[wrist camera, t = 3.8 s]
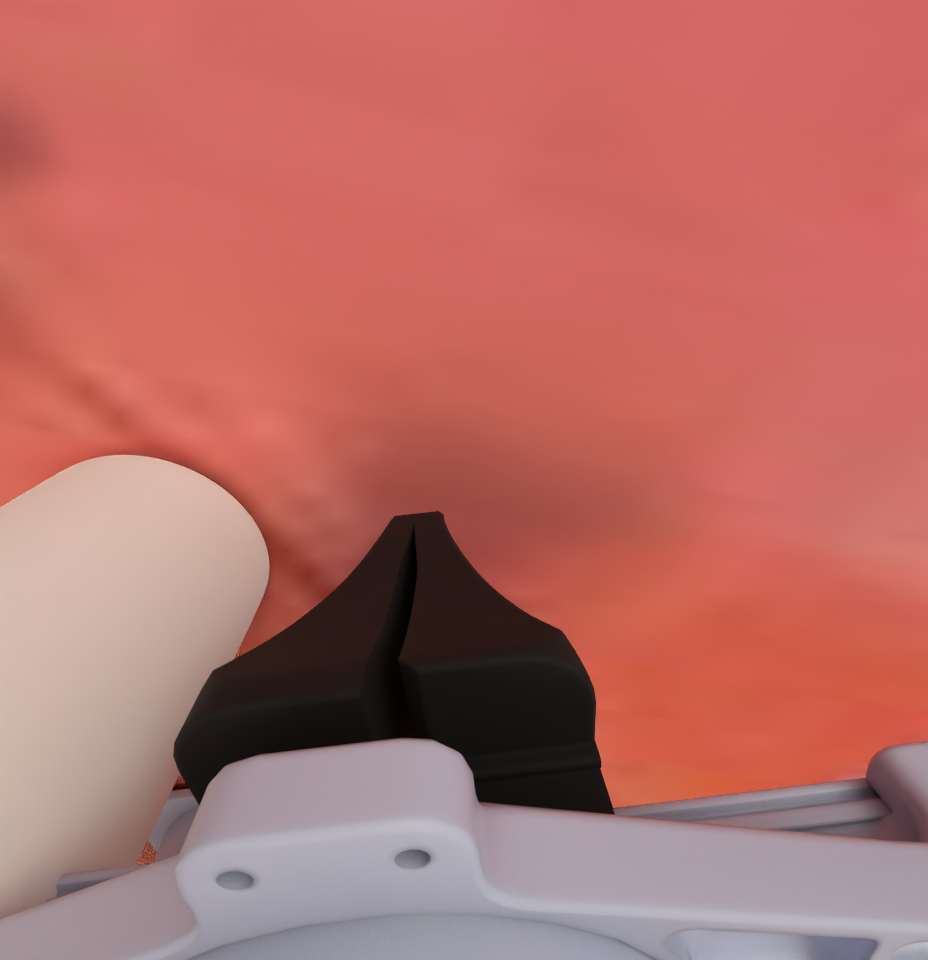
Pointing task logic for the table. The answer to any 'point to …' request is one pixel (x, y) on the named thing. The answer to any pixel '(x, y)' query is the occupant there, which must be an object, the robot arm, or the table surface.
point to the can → (108, 655)
